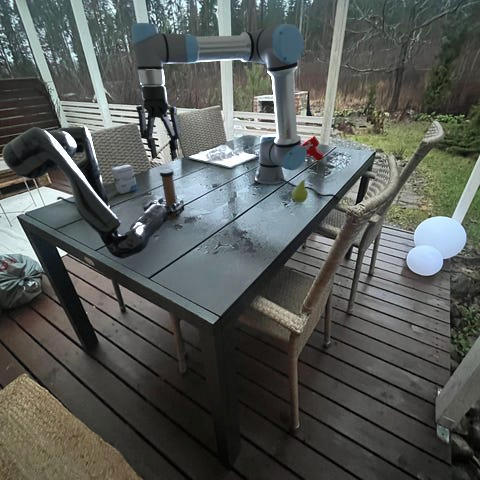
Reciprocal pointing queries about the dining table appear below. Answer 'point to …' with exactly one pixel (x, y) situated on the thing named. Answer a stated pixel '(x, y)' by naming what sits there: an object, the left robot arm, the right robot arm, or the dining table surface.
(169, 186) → the jar
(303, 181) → the fruit
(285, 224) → the dining table surface
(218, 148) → the relief map
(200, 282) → the dining table surface
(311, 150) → the toy gun
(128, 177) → the ink box
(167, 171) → the lid
